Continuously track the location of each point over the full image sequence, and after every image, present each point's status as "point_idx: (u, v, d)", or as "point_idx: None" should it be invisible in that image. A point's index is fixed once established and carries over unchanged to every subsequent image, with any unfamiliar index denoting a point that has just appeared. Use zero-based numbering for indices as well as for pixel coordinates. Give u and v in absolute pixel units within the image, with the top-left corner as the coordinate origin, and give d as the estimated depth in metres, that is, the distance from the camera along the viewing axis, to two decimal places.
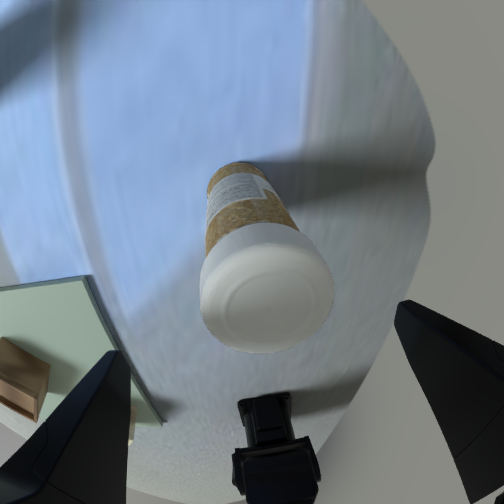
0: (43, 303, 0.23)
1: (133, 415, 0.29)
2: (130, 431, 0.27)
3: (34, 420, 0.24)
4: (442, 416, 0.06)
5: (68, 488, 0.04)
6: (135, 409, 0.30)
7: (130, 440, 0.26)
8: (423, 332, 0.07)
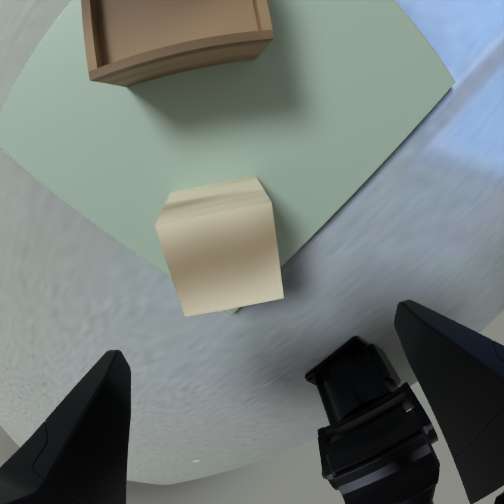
0: (396, 31, 0.13)
1: None
2: None
3: (100, 69, 0.09)
4: (442, 416, 0.06)
5: (68, 488, 0.04)
6: None
7: (279, 294, 0.15)
8: (423, 332, 0.07)
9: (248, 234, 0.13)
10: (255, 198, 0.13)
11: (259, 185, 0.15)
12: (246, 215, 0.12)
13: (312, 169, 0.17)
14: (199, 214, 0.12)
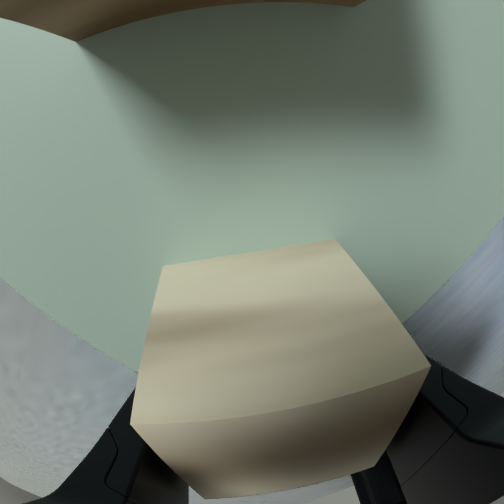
0: None
1: None
2: None
3: None
4: None
5: (145, 500, 0.04)
6: None
7: (370, 464, 0.06)
8: None
9: (359, 423, 0.05)
10: (386, 344, 0.05)
11: (363, 279, 0.07)
12: (369, 399, 0.04)
13: (424, 228, 0.09)
14: (251, 404, 0.04)
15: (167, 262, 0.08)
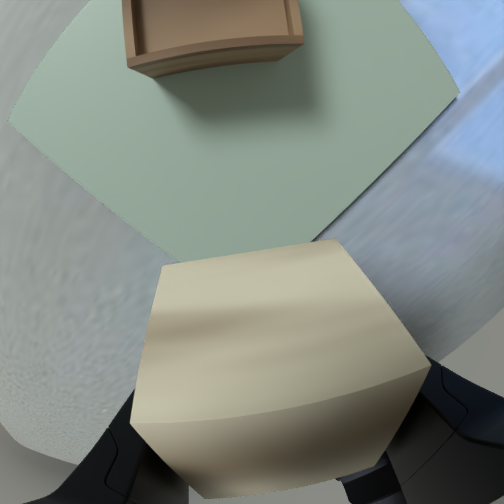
0: (408, 42, 0.14)
1: None
2: None
3: (138, 57, 0.09)
4: None
5: (145, 500, 0.04)
6: None
7: (370, 464, 0.06)
8: None
9: (359, 423, 0.05)
10: (386, 343, 0.05)
11: (363, 278, 0.07)
12: (370, 399, 0.04)
13: (325, 167, 0.18)
14: (251, 404, 0.04)
15: (192, 181, 0.17)
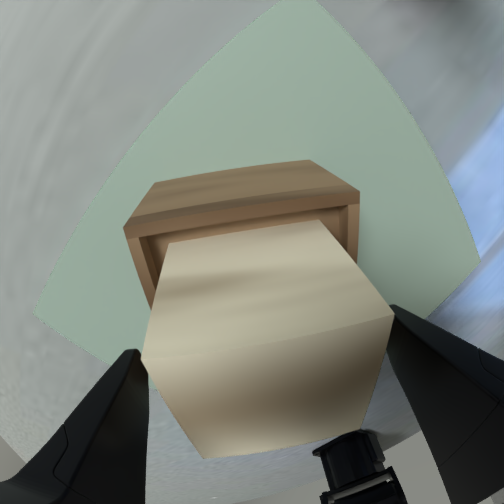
0: (446, 232, 0.16)
1: None
2: None
3: None
4: (426, 424, 0.06)
5: (90, 493, 0.04)
6: None
7: (356, 426, 0.08)
8: (406, 338, 0.07)
9: (336, 368, 0.06)
10: (355, 296, 0.06)
11: (340, 249, 0.08)
12: (342, 341, 0.05)
13: None
14: (241, 339, 0.05)
15: None
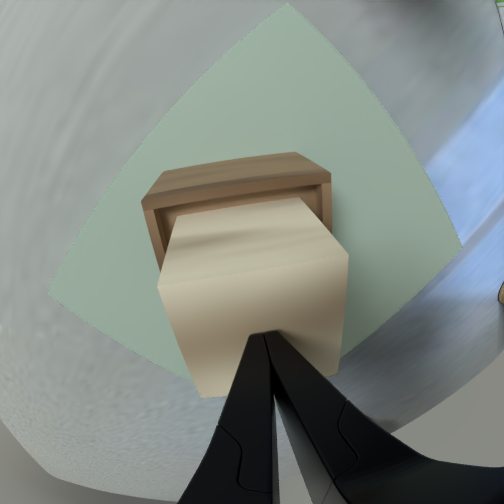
0: (425, 218, 0.18)
1: None
2: None
3: None
4: (301, 466, 0.06)
5: (275, 495, 0.04)
6: None
7: (333, 370, 0.10)
8: (273, 372, 0.07)
9: (306, 301, 0.08)
10: (319, 244, 0.08)
11: (313, 216, 0.10)
12: (307, 274, 0.08)
13: None
14: (232, 270, 0.08)
15: None
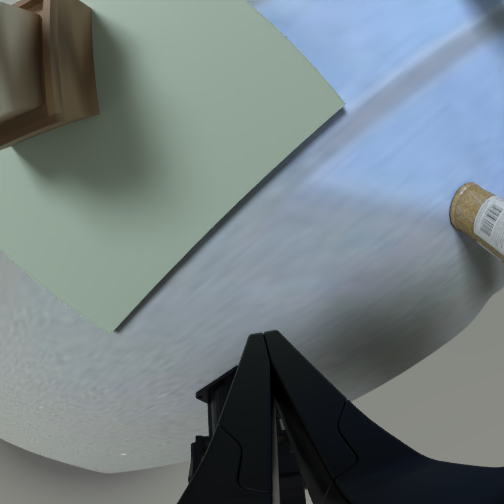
0: (259, 53, 0.14)
1: (25, 99, 0.08)
2: None
3: None
4: (301, 466, 0.06)
5: (274, 495, 0.04)
6: (37, 101, 0.09)
7: None
8: (273, 372, 0.07)
9: None
10: None
11: (13, 7, 0.05)
12: None
13: (156, 214, 0.18)
14: None
15: (48, 231, 0.17)
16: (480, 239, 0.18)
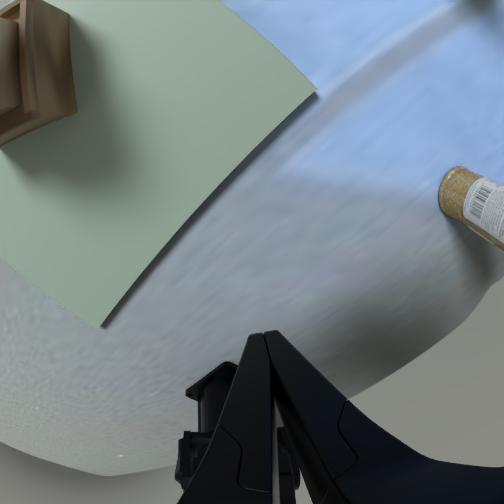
0: (226, 44, 0.14)
1: (4, 99, 0.08)
2: None
3: None
4: (301, 466, 0.06)
5: (274, 494, 0.04)
6: (15, 101, 0.09)
7: None
8: (273, 372, 0.07)
9: None
10: None
11: None
12: None
13: (133, 207, 0.17)
14: None
15: (34, 228, 0.17)
16: (470, 223, 0.17)
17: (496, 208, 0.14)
